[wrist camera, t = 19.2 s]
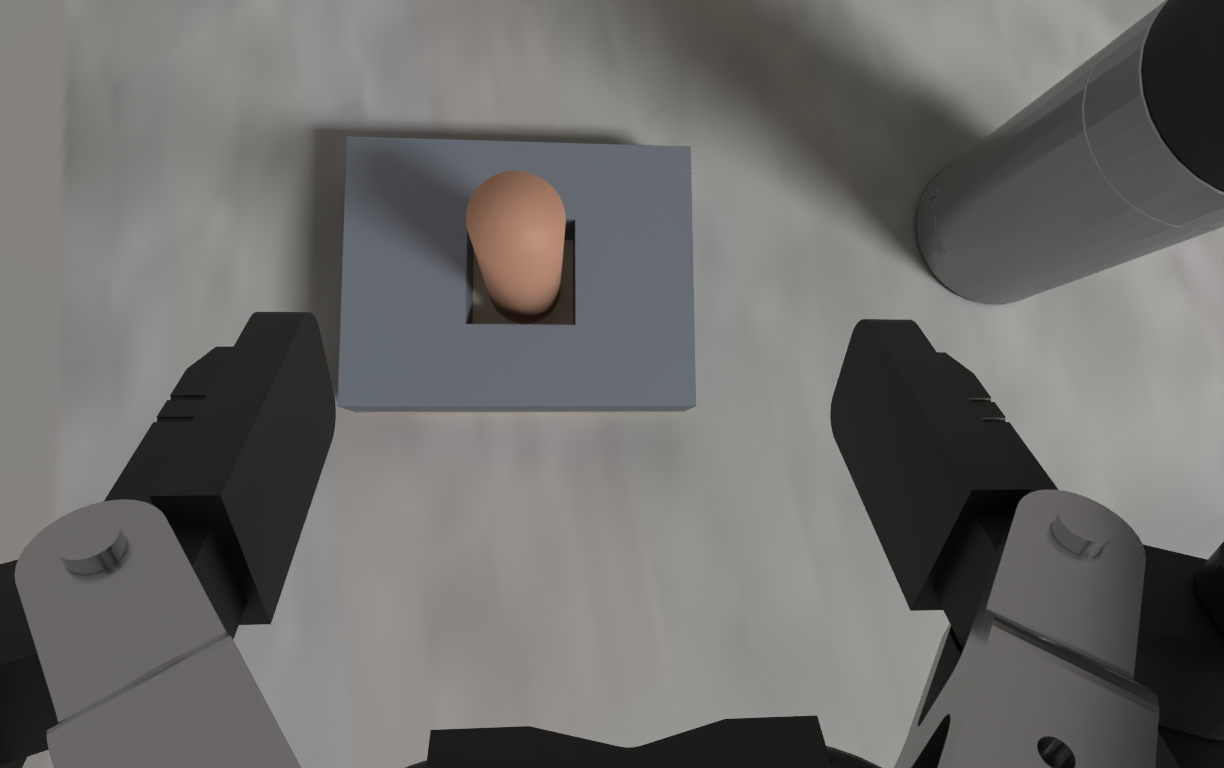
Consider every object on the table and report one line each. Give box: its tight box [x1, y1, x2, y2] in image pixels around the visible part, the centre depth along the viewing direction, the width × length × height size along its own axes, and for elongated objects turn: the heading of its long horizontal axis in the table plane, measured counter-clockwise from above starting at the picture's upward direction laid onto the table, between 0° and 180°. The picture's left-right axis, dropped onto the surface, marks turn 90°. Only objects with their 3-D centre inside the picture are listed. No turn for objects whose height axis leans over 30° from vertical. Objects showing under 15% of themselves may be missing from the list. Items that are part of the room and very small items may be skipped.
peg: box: [466, 171, 566, 323], centre depth 36 cm, size 4×4×12 cm
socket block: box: [337, 136, 696, 413], centre depth 41 cm, size 18×14×4 cm
